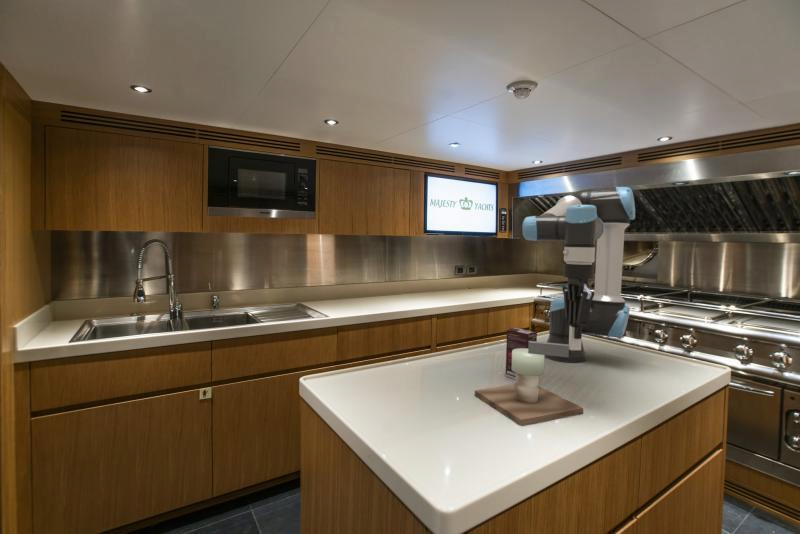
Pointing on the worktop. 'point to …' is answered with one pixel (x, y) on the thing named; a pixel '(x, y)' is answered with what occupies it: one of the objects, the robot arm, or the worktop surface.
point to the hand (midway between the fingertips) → (574, 349)
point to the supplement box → (517, 345)
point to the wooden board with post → (528, 401)
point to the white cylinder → (536, 357)
